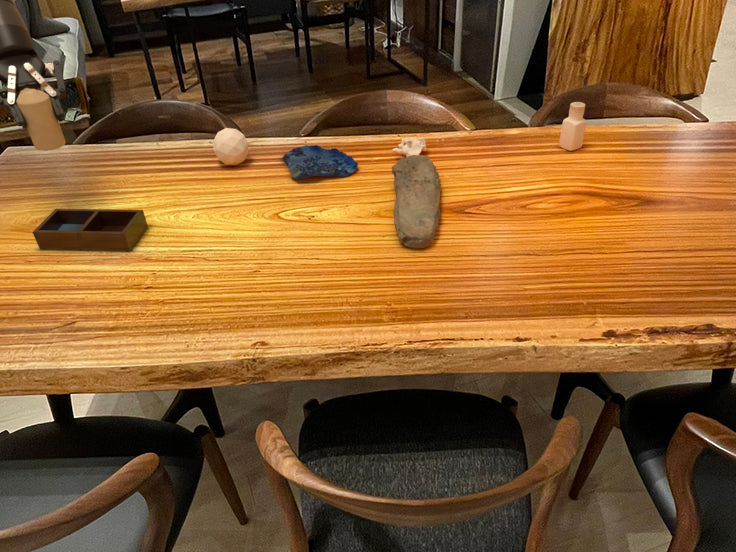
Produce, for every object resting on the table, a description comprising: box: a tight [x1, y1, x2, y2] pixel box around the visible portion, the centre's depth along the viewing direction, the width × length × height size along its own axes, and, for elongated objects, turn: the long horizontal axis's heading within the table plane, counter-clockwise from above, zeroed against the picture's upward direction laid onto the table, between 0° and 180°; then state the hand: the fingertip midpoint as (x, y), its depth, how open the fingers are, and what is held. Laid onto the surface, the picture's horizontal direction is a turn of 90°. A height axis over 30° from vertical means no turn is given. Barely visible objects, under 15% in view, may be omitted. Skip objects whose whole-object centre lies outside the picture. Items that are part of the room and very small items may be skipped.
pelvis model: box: [391, 136, 428, 158], centre depth 140 cm, size 8×4×7 cm
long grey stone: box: [391, 154, 442, 249], centre depth 122 cm, size 35×5×10 cm
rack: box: [32, 208, 149, 252], centre depth 116 cm, size 17×9×4 cm, turn 85°
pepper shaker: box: [558, 101, 588, 152], centre depth 138 cm, size 4×4×10 cm
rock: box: [282, 144, 359, 180], centre depth 138 cm, size 15×17×2 cm
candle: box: [16, 88, 66, 152], centre depth 114 cm, size 6×6×10 cm
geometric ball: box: [212, 127, 249, 166], centre depth 138 cm, size 8×8×8 cm
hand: (42, 122), depth 113 cm, fingers closed on candle, 5 cm apart
